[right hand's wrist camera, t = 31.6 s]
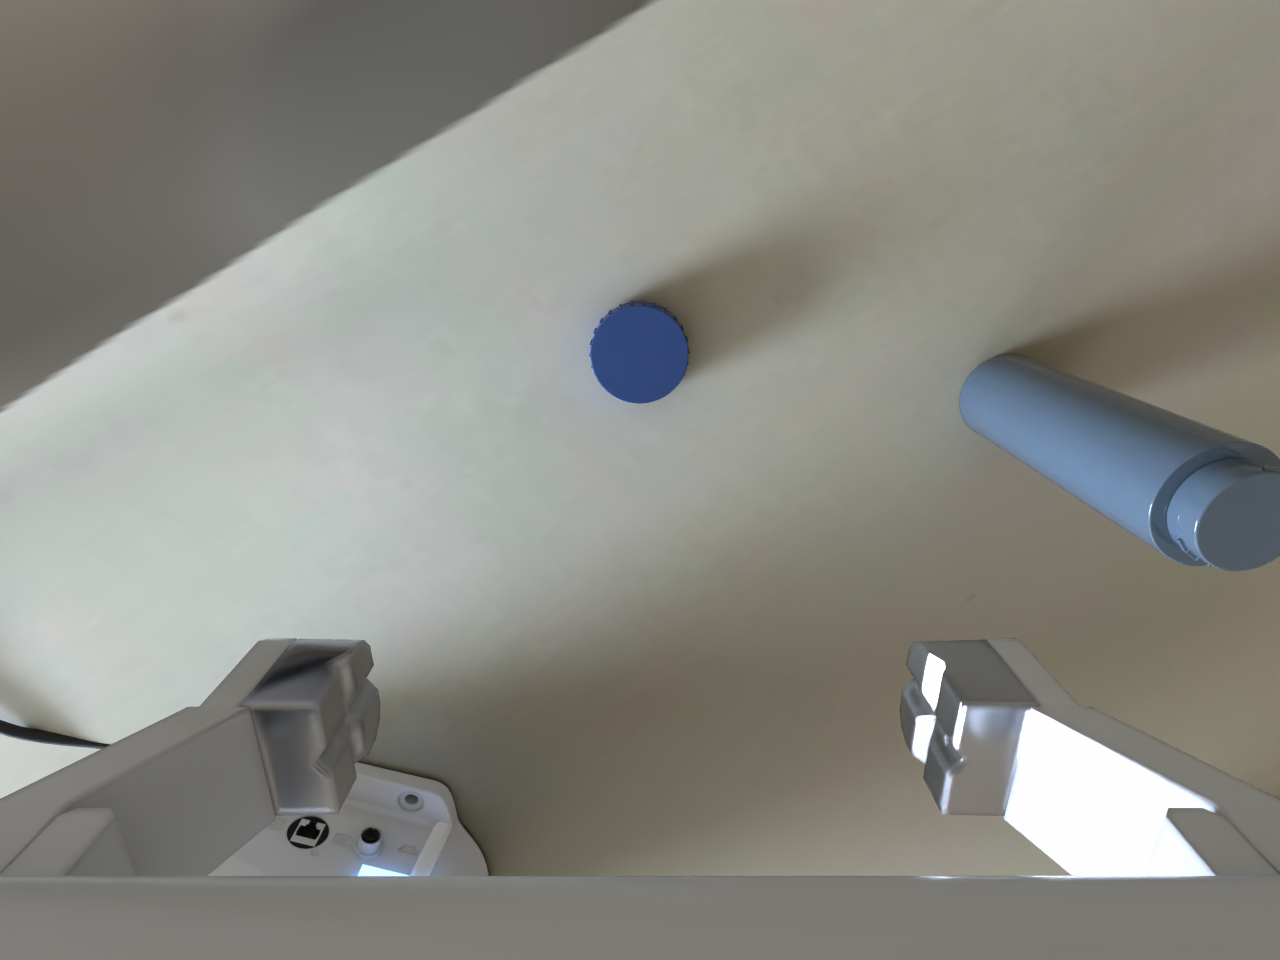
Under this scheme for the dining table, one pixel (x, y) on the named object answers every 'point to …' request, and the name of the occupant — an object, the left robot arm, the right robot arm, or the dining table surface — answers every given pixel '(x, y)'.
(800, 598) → the dining table surface
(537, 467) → the dining table surface
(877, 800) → the dining table surface
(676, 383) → the lid
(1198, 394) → the dining table surface
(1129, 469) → the jar
